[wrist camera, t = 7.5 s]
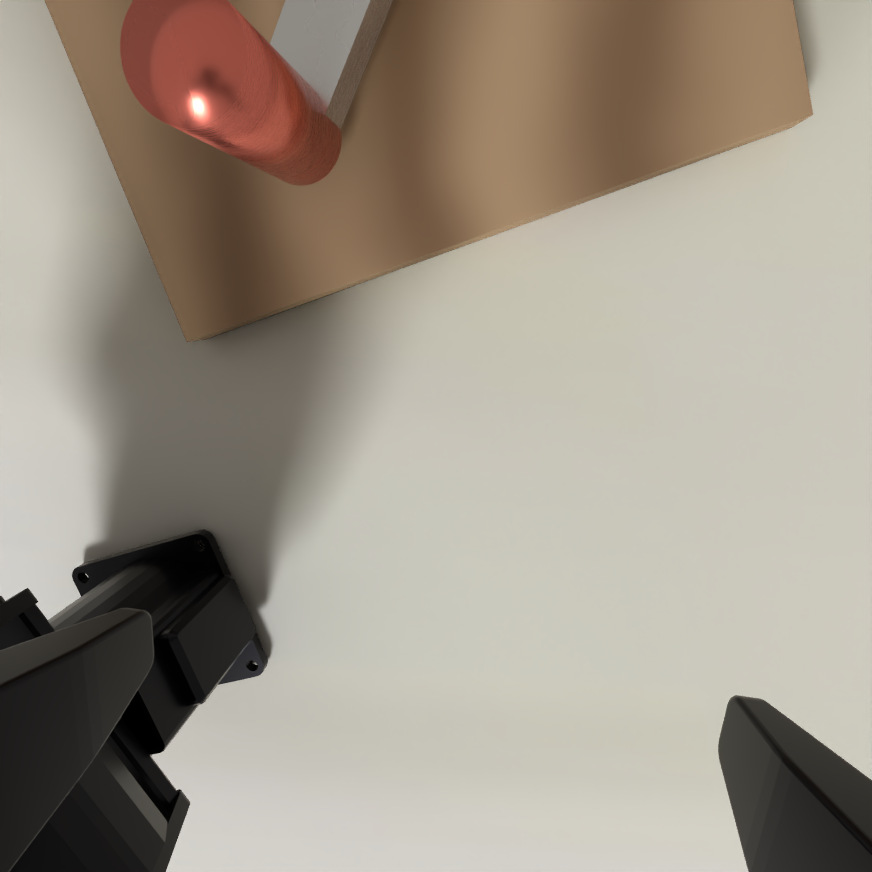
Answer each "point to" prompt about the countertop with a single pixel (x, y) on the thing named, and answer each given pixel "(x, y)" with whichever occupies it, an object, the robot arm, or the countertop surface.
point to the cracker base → (440, 136)
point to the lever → (253, 76)
